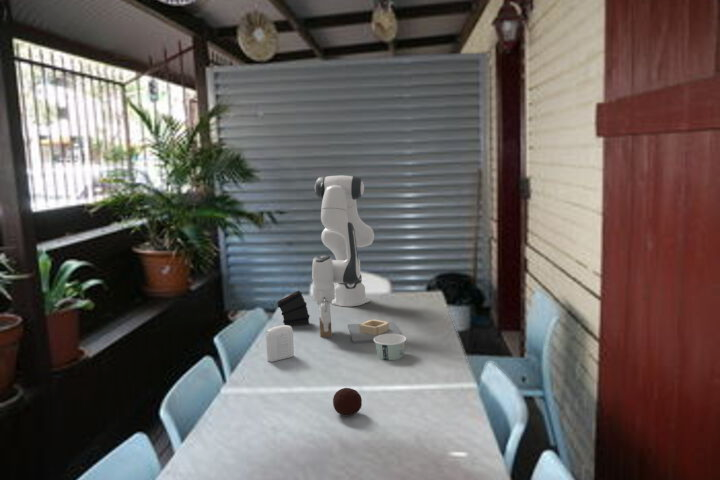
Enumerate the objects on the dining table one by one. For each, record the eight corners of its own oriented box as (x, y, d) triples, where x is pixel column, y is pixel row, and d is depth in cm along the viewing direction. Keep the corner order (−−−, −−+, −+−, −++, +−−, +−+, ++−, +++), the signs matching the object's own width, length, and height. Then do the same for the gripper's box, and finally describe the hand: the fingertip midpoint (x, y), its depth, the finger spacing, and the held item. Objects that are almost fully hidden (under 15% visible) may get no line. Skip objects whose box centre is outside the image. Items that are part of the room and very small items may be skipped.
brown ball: (344, 405, 175) (343, 380, 173) (369, 413, 169) (368, 387, 168) (326, 415, 168) (325, 389, 167) (350, 423, 163) (349, 397, 161)
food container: (404, 362, 208) (404, 344, 207) (371, 361, 210) (370, 343, 209) (408, 350, 220) (408, 334, 219) (377, 349, 222) (376, 333, 221)
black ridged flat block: (315, 321, 257) (299, 291, 254) (289, 334, 257) (272, 305, 255) (316, 318, 260) (299, 289, 258) (290, 332, 261) (273, 303, 258)
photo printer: (290, 353, 221) (288, 322, 219) (296, 356, 218) (294, 324, 216) (265, 359, 216) (263, 327, 214) (270, 363, 212) (268, 330, 210)
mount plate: (347, 326, 252) (347, 317, 251) (393, 323, 254) (393, 314, 254) (353, 343, 230) (352, 333, 230) (403, 339, 233) (402, 329, 232)
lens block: (320, 333, 244) (319, 317, 243) (330, 333, 245) (330, 316, 243) (320, 337, 240) (319, 320, 239) (331, 336, 240) (330, 319, 239)
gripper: (333, 300, 230) (334, 334, 232) (330, 288, 250) (331, 320, 252) (317, 301, 229) (319, 335, 231) (315, 289, 249) (316, 321, 251)
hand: (325, 327), depth 242 cm, fingers open, 8 cm apart
